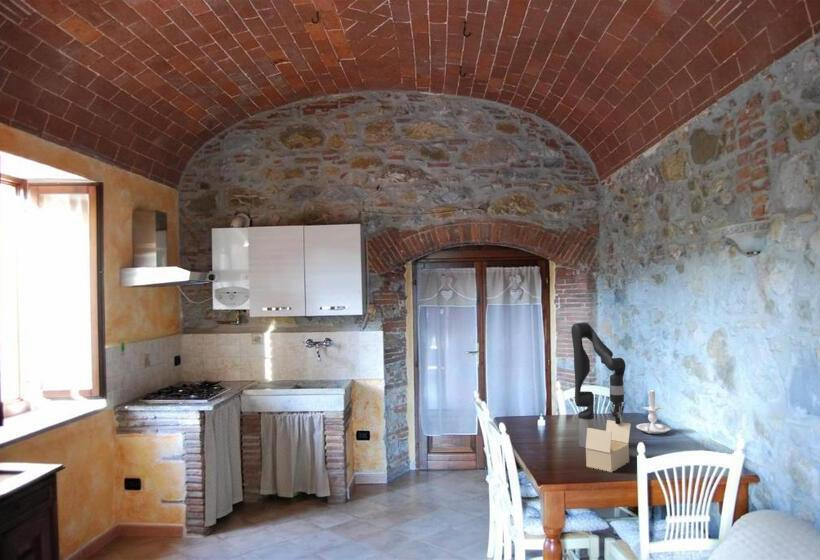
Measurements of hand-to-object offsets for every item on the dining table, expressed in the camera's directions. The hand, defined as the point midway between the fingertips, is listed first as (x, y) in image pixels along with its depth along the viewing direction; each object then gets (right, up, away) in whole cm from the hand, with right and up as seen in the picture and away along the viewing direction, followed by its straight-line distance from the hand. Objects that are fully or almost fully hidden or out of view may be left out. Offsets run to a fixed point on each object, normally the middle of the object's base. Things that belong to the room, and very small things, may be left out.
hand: (617, 423), depth 297 cm
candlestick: (+41, -19, +46) cm, 64 cm away
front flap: (-17, -4, -16) cm, 24 cm away
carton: (-9, -20, -10) cm, 24 cm away
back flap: (-1, -4, -1) cm, 4 cm away
